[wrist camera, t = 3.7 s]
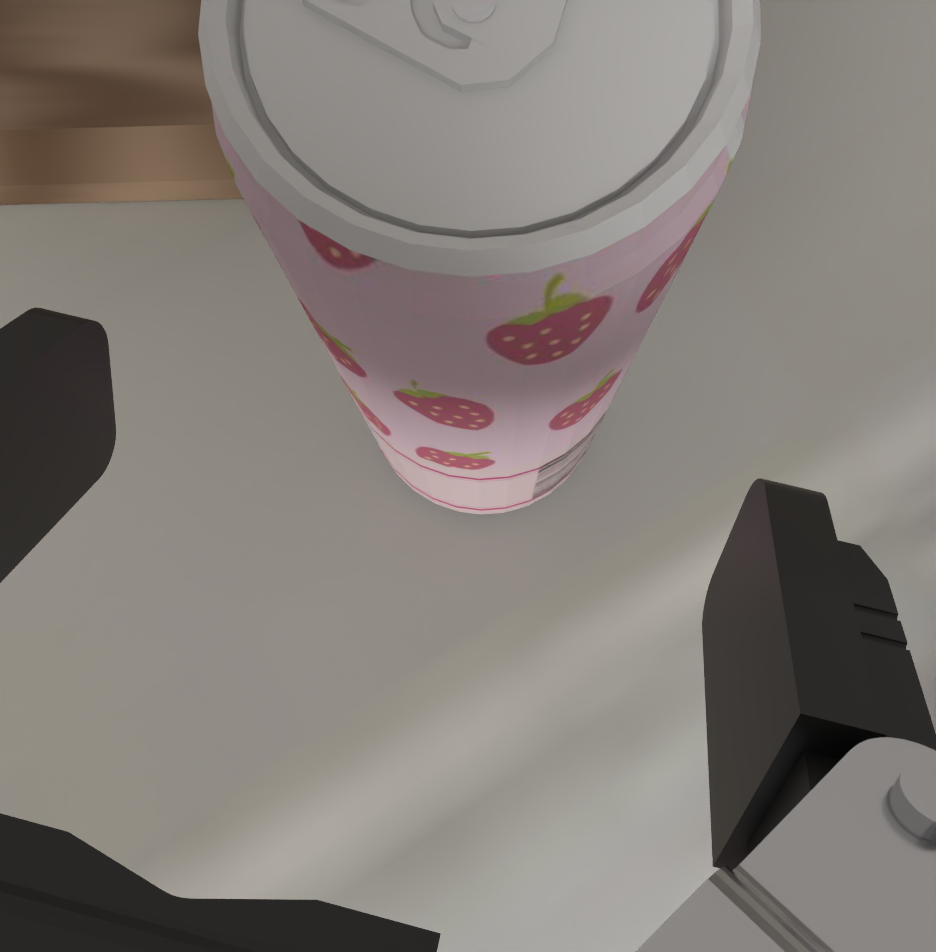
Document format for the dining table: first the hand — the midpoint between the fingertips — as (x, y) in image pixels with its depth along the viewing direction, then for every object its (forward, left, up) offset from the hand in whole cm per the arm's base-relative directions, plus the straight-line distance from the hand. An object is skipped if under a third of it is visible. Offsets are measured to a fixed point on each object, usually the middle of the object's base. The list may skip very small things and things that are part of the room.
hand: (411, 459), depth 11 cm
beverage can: (-1, -4, -12) cm, 12 cm away
